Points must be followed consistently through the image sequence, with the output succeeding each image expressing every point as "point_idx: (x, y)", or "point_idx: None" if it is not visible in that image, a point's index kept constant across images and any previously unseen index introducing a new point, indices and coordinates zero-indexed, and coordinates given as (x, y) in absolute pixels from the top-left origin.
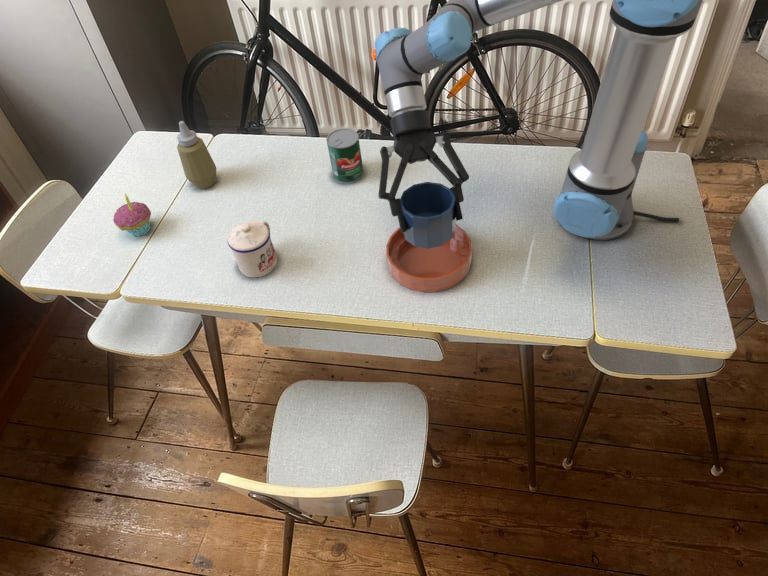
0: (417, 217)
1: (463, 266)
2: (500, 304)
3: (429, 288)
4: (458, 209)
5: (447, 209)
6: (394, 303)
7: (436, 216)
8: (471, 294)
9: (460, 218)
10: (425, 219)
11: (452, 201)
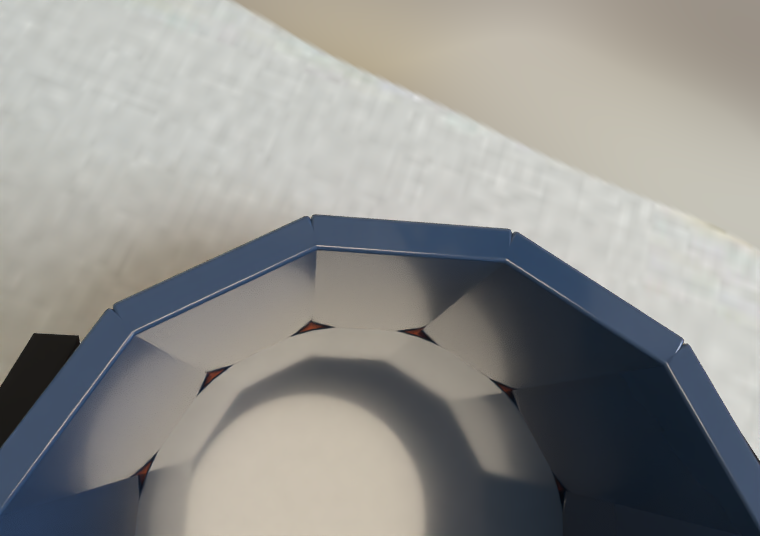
0: (629, 307)
1: None
2: (98, 92)
3: None
4: (15, 415)
5: (186, 303)
6: (591, 273)
7: (385, 224)
8: (206, 196)
9: (55, 343)
10: (531, 247)
11: (36, 454)
